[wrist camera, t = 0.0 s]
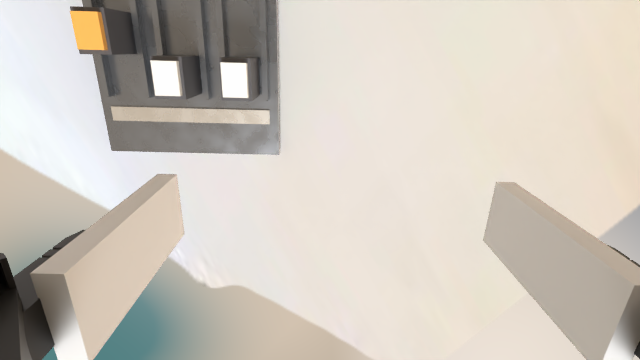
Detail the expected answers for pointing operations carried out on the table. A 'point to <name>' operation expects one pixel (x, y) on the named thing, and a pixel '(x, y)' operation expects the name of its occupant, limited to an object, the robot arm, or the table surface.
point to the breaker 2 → (176, 76)
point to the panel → (207, 108)
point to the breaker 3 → (239, 78)
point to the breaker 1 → (103, 31)
